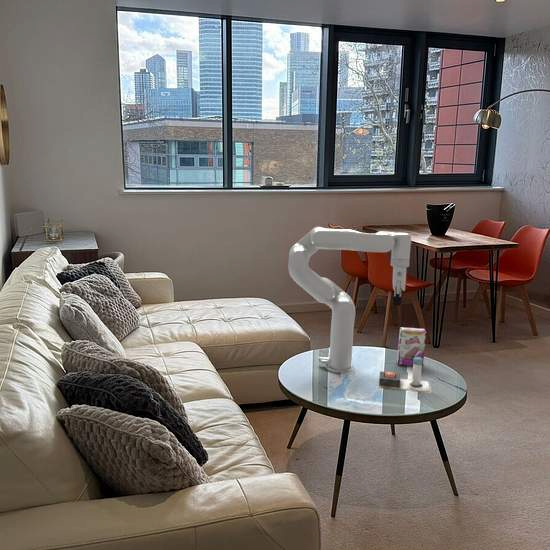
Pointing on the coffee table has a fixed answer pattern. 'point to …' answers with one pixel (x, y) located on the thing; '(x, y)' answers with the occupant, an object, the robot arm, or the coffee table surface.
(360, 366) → the coffee table surface
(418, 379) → the cylinder
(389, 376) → the button
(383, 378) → the drawing board
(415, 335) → the candy bar box
